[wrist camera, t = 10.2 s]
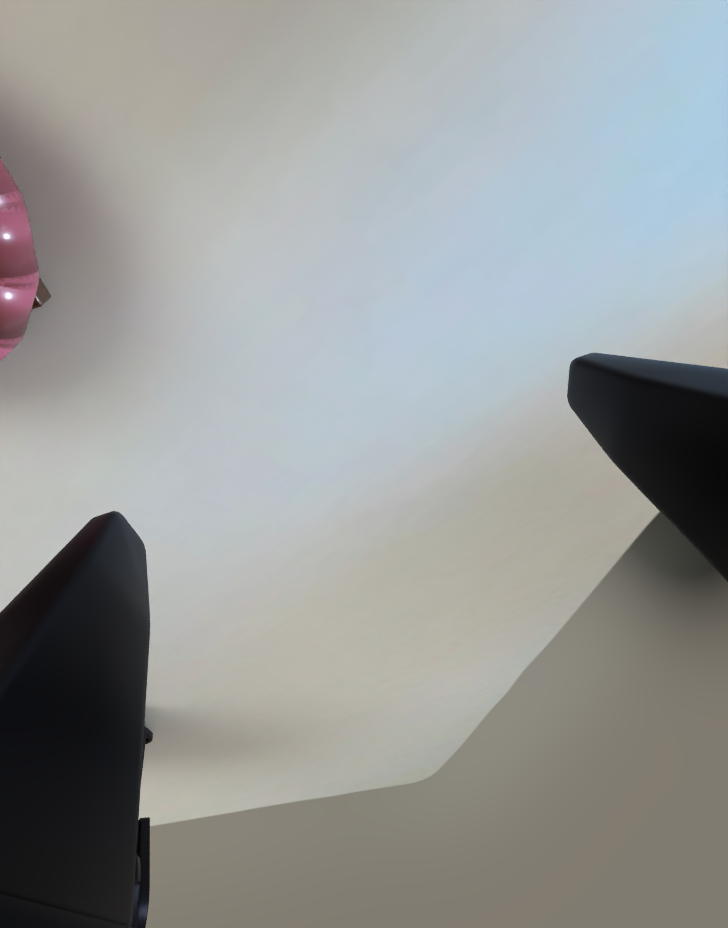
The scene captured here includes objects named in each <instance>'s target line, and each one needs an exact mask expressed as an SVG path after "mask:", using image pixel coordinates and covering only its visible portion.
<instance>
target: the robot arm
mask: <svg viewBox="0 0 728 928" xmlns="http://www.w3.org/2000/svg"><path fill="white" fill-rule="evenodd" d="M567 397H568V402H569V405H570V407H571V408H572V410H573V411H574V412H575V413H576V415H577V416H578V417H579V419H580V420H581V421H582V423H583V424H584V425H585V427H586V428H587V429H588V431H589V432H590V433H591V434H592V436H593V437H594V438H595V440H596V441H597V442H598V444H599V445H600V446H601V448H602V449H603V450H604V451H605V453H606V454H607V455H608V456H609V458H610V459H611V460H612V461H613V462H614V463H615V465H616V466H617V467H618V468H619V469H620V470H621V471H622V472H623V473H624V474H625V475H626V476H627V477H628V478H629V479H630V480H631V481H632V483H633V484H634V485H635V486H636V487H637V488H638V489H639V490H640V491H641V492H642V493H643V494H644V495H645V496H646V497H647V498H648V499H649V500H650V501H651V502H652V503H653V504H654V505H655V506H656V508H657V509H658V510H659V511H660V512H661V513H662V514H663V515H664V516H665V517H666V518H667V519H668V520H669V521H670V522H671V523H672V524H673V525H674V526H675V527H676V528H677V529H678V530H679V531H680V533H682V535H683V536H684V537H685V538H686V539H687V540H688V541H689V542H690V543H691V544H692V545H693V546H694V547H695V548H696V549H697V550H698V551H699V552H700V553H701V554H702V555H703V556H704V557H705V559H707V560H708V562H709V563H710V564H711V565H712V566H713V567H714V568H715V569H716V570H717V571H718V572H719V573H720V574H721V575H722V576H723V577H724V578H725V579H726V580H727V581H728V369H724V368H716V367H708V366H700V365H691V364H683V363H675V362H667V361H658V360H650V359H642V358H634V357H625V356H617V355H609V354H601V353H590V354H587V355H584V356H581V357H578V358H575V359H574V360H573V361H572V362H571V364H570V369H569V381H568V393H567ZM149 638H150V609H149V594H148V579H147V563H146V550H145V546H144V544H143V542H142V540H141V539H140V537H139V536H138V535H137V533H136V532H135V531H134V529H133V528H132V527H131V525H130V524H129V523H128V522H127V520H126V519H125V518H124V516H123V515H122V514H120V513H119V512H116V511H112V512H109V513H106V514H103V515H100V516H97V517H94V518H93V519H91V520H90V521H89V522H88V523H87V524H86V525H85V526H84V527H83V528H82V529H81V530H80V531H79V532H78V534H77V535H76V536H75V537H74V538H73V539H72V540H71V541H70V542H69V543H68V544H67V545H66V546H65V547H64V548H63V549H62V550H61V551H60V552H59V553H58V554H57V555H56V556H55V557H54V558H53V559H52V560H51V561H50V562H49V563H48V564H47V565H46V566H45V567H44V568H43V569H42V570H41V571H40V573H39V574H38V575H37V576H36V577H35V578H34V579H33V580H32V581H31V582H30V583H29V584H28V585H27V586H26V587H25V588H24V589H23V590H22V591H21V592H20V593H19V594H18V595H17V596H16V597H15V598H14V599H13V600H12V601H11V602H10V603H9V604H8V605H7V606H6V607H5V608H4V609H3V610H2V611H1V613H0V928H145V926H146V920H147V913H148V904H149V887H150V885H149V884H150V883H149V880H150V879H149V878H150V877H149V876H150V873H149V872H150V870H149V869H150V856H149V855H150V818H149V817H148V818H140V819H139V820H138V817H139V801H140V786H141V777H142V768H143V759H144V751H145V744H147V743H150V742H151V741H152V738H153V733H152V732H151V731H150V730H149V729H148V728H146V727H145V726H144V719H145V703H146V687H147V671H148V654H149Z"/></svg>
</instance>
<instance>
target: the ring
mask: <svg viewBox="0 0 728 928" xmlns="http://www.w3.org/2000/svg"><path fill="white" fill-rule="evenodd" d="M38 284H39V268H38V263H37V258H36V253H35V248H34V243H33V238H32V233H31V228H30V223H29V218H28V213H27V208H26V205H25V201H24V198H23V196H22V194H21V192H20V190H19V188H18V187H17V185H16V183H15V182H14V180H13V178H12V177H11V175H10V173H9V171H8V170H7V168H6V166H5V165H4V163H3V161H2V160H1V158H0V361H1V360H2V359H3V358H4V357H5V356H6V355H7V354H8V353H9V352H10V351H12V350H13V349H14V348H15V347H16V346H17V345H18V344H19V342H20V341H21V340H22V338H23V336H24V333H25V330H26V327H27V323H28V320H29V316H30V313H31V309H32V306H33V302H34V298H35V295H36V291H37V288H38Z"/></svg>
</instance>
